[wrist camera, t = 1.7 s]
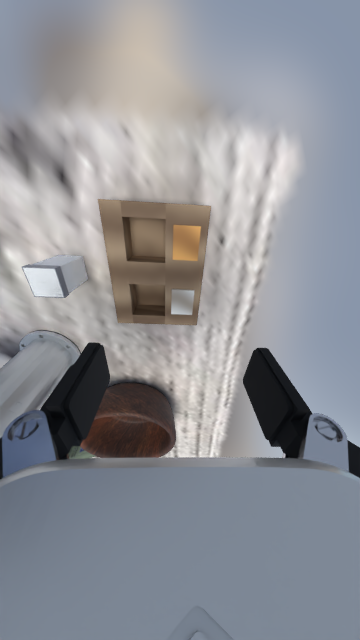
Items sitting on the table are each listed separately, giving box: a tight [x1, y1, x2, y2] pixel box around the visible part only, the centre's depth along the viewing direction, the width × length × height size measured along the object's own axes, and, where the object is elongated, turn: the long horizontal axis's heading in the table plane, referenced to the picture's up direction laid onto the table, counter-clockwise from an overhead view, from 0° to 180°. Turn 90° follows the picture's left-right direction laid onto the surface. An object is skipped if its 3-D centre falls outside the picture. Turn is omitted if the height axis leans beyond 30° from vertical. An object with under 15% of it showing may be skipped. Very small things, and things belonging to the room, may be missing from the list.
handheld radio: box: [68, 446, 95, 459], centre depth 59 cm, size 7×3×25 cm
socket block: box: [98, 199, 211, 325], centre depth 28 cm, size 18×14×5 cm
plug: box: [22, 255, 88, 298], centre depth 27 cm, size 4×4×8 cm
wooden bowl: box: [80, 383, 176, 458], centre depth 47 cm, size 25×25×10 cm
